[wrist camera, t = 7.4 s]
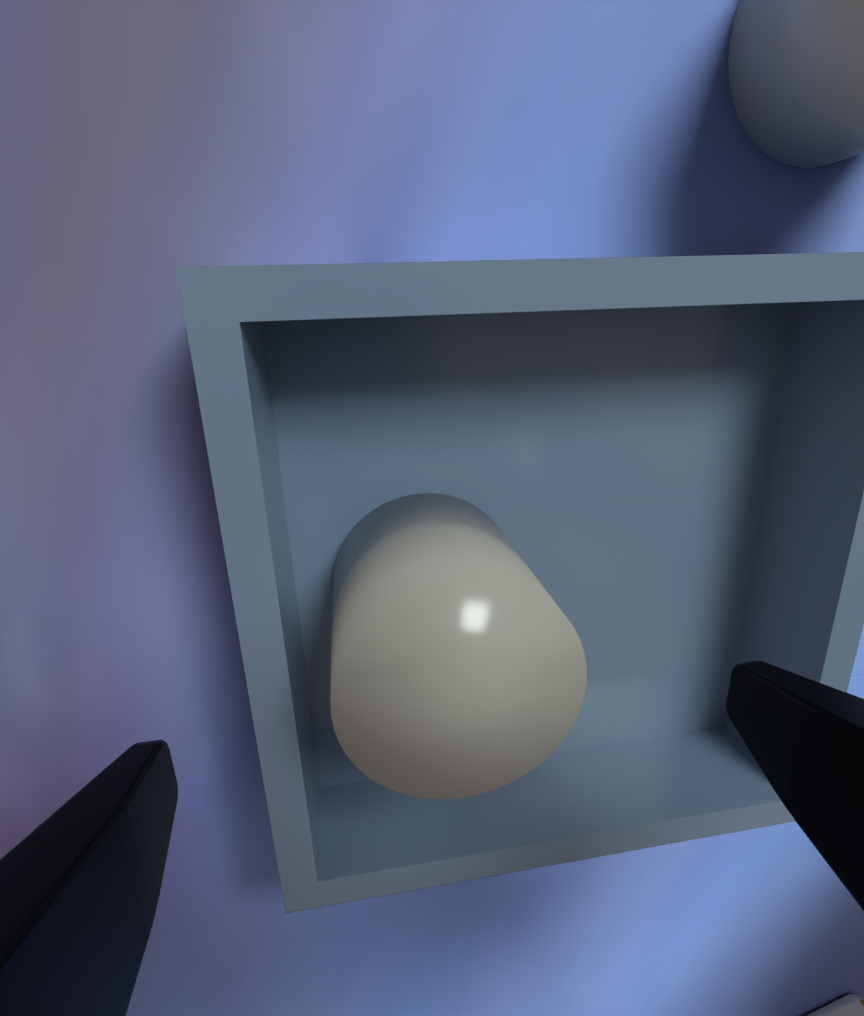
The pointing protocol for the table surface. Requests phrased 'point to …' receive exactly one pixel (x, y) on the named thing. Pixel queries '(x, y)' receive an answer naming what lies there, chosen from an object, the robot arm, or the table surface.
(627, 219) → the table surface
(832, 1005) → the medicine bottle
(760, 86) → the pebble
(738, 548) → the dish
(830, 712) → the robot arm
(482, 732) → the pebble
